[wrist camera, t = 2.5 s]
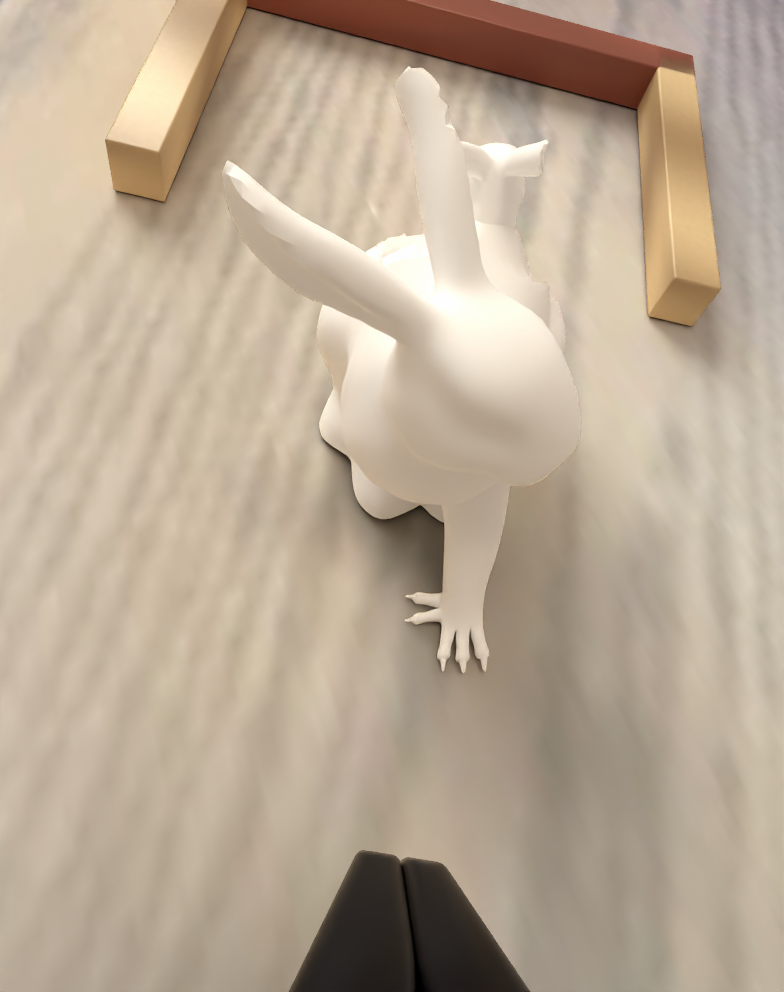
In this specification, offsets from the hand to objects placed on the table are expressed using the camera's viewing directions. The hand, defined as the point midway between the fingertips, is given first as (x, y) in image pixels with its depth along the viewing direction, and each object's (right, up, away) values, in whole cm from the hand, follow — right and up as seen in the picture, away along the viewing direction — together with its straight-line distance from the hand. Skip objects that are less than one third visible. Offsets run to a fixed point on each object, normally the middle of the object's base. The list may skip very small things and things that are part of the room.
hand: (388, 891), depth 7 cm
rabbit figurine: (0, +5, +14) cm, 15 cm away
